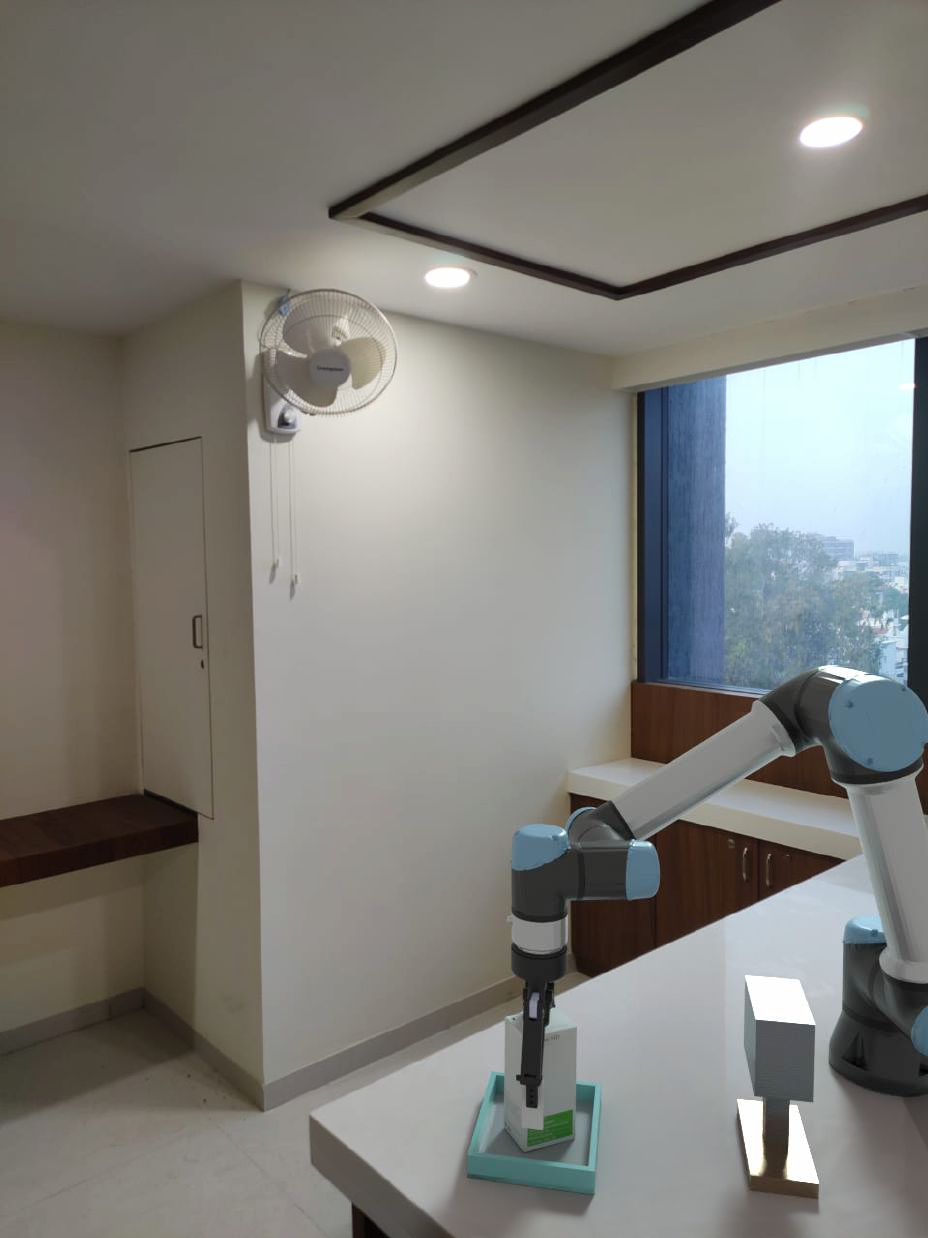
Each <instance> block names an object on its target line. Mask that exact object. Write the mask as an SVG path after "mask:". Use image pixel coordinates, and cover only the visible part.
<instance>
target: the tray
mask: <svg viewBox="0 0 928 1238" xmlns="http://www.w3.org/2000/svg"><path fill="white" fill-rule="evenodd" d="M601 1111H602V1083H601V1082H600V1083H599V1082H592V1081H583V1080H576V1124H575V1139H572V1140H568V1141H564V1142H560V1143H557V1144H553V1145H549V1146H546V1147H542V1148H538V1149H534V1150H531V1151H528V1152H523V1150H522V1149H521V1148H520V1147H519V1145H518V1144H517V1143H516V1142H515V1140H514V1139H513V1138H512V1136H511V1135H510V1134H509V1133H508V1131H507V1130H506V1129H505V1127H504V1072H499V1071H491V1072H490V1076H489V1079H488V1083H487V1086H486V1089H485V1093H484V1097H483V1100H482V1103H481V1107H480V1111H479V1114H478V1116H477V1117H478V1118H477V1120H476V1123H475V1127H474V1131H473V1135H472V1138H471V1141H470V1144H469V1148H468V1151H467V1154H466V1174H467V1175H466V1176H467V1177H466V1178H467V1179H473V1180H474V1179H475V1180H481V1181H489V1182H498V1183H505V1184H512V1185H520V1186H526V1187H533V1188H540V1189H541V1188H542V1189H550V1190H555V1191H556V1190H557V1191H564V1192H571V1193H580V1194H586V1195H587V1194H588V1195H595V1190H596V1176H597V1166H598V1165H597V1164H598V1151H599V1150H598V1149H599V1138H600V1137H599V1136H600V1125H601V1114H602V1112H601Z"/></svg>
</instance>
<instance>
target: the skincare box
mask: <svg viewBox="0 0 928 1238" xmlns="http://www.w3.org/2000/svg"><path fill="white" fill-rule="evenodd" d="M543 1018H544V1017H543ZM503 1020H504V1072H503V1073H504V1127H505V1129H506V1130H507V1131H508V1133H509V1134H510V1135H511V1136H512V1138H513V1139H514V1140H515V1142H516V1143H517V1144H518V1145H519V1147H520V1148H521V1149H522V1150H523V1152H528V1151H531V1150H534V1149H538V1148H542V1147H546V1146H549V1145H553V1144H557V1143H560V1142H564V1141H568V1140H572V1139H575V1124H576V1081H577V1052H578V1051H577V1050H578V1049H577V1041H578V1036H577V1035H578V1026H577V1025H576V1024H575V1023H574V1022H573V1021H571V1020H570V1019H569V1018H567V1017H566V1015H564V1014H563V1013H562V1012H561V1011H560V1010H559V1009H558V1008H557V1007H555V1008H551V1009H550V1022H549V1025H548V1026H546V1027H545V1039H544V1054H543V1069H542V1076H543V1078H544V1127H543V1130H537V1129H529V1128H522V1085H521V1084H520V1081H516V1075H521V1056H522V1038H523V1013H519V1014H517V1013H516V1014H512V1015H507V1016H505V1017H504V1019H503Z"/></svg>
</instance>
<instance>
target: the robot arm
mask: <svg viewBox="0 0 928 1238" xmlns="http://www.w3.org/2000/svg"><path fill="white" fill-rule="evenodd" d="M927 743H928V711H927V709H926V706H925V704H924V703H923V702H922V700H921V699H920V698H919V696H918V695H917V694H916V692H914V691H913V690H912V689H911V688H909V687H908V686H906V685H905V684H903V683H901V682H899V681H896V680H895V679H893V678H891V677H889V676H886V675H882V674H879V673H872V672H864V671H861V670H857V669H852V668H850V667H846V666H842V665H834V664H832V665H822V666H817V667H813V668H812V669H811V668H810V669H809V670H806V671H803V672H802V673H799V674H798V675H796V676H794V677H792V678H790V679H788V680H786V681H785V682H783V683H782V684H780V685H778V686H777V687H775V688H774V689H772V690H770V691H769V692H767V693H765V694H763V695H762V696H760V698H758V699H756V700H755V701H753V702H752V705H751V710H750V712H748V713H747V714H745V715H743V716H742V717H741V718H739V719H737V720H736V721H734V722H732V723H730V724H729V725H728V726H726V727H724V728H723V729H721V730H719V731H718V732H716V733H715V734H713V735H712V736H709V738H707V739H705V740H704V741H702V742H700V743H699V744H698V745H696V746H694V747H692V748H691V749H689V750H688V751H686V752H685V753H683V754H681V755H680V756H679V757H676V758H675V759H673V760H672V761H671V762H669V763H667V764H665V765H664V766H662V767H660V768H659V769H658V770H656V771H654V772H653V773H651V774H650V775H648V776H646V777H644V778H643V779H642V780H640V781H639V782H637V783H635V784H634V785H632V786H630V787H629V788H627V789H626V790H624V791H622V792H621V793H620V794H619V793H618V794H617V795H616V796H615V797H613V798H611V799H610V800H608V801H606V802H605V803H603V804H601V805H599V806H598V807H591V806H587V807H586V806H585V807H582V808H579V809H576V810H575V811H574V812H573V813H572V814H571V815H569V817H568V818H567V821H566V823H565V826H564V828H562V827H561V826H557V825H554V824H546V823H534V824H533V823H531V824H528V825H524V826H521V827H520V828H517V829H516V831H515V832H514V833H513V835H512V841H511V842H512V843H511V859H510V889H511V890H510V896H511V898H510V899H511V901H510V902H511V903H510V904H511V906H510V907H511V915H508V916H507V918H506V922H507V923H508V924H512V926H511V940H512V942H511V946H510V964H511V965H510V969H511V971H512V973H513V974H514V975H515V977H516V978H517V977H518V979H522V980H523V981H525V984H524V987H523V988H522V1007H523V1010H522V1014H523V1038H522V1056H521V1075H516V1081H520V1084H521V1085H522V1128H529V1129H537V1130H543V1127H544V1078H543V1076H542V1069H543V1054H544V1039H545V1027H546V1026H548V1025H549V1022H550V1009H551V1008H557V1007H556V1003H555V1002H556V1001H555V989H556V982H555V981H559V980H561V979H562V978H563V977H565V975H566V974H567V971H568V945H567V943H568V942H569V941H568V940H569V938H568V937H569V912H568V909H569V908H568V904H569V902H570V901H597V900H601V901H602V900H604V901H605V900H606V901H607V900H617V901H618V900H628V901H632V900H639V899H649V898H652V897H654V896H655V895H656V894H657V892H658V891H659V887H660V882H661V881H660V880H661V870H660V868H661V867H660V860H659V855H658V851H657V850H656V847H655V846H654V844H653V843H652V842H651V841H648V840H647V839H648V838H650V837H652V836H653V835H655V834H656V833H658V832H660V831H661V830H663V829H665V828H666V827H668V826H669V825H671V824H673V823H674V822H676V821H677V820H679V819H681V818H682V817H685V815H687V814H689V813H690V812H692V811H693V810H695V809H697V808H698V807H700V806H702V805H704V804H705V803H707V802H708V801H709V800H711V799H713V798H714V797H717V796H718V795H719V794H721V793H723V791H724V792H725V791H726V790H727V789H729V788H730V787H732V786H734V785H736V784H737V783H739V782H740V781H742V780H744V779H745V778H747V777H748V776H750V775H752V774H753V773H754V772H756V771H758V770H760V769H761V768H763V767H764V766H766V765H767V764H769V763H771V762H773V761H774V760H776V759H778V758H779V757H780V756H785V757H789V758H792V757H795V756H796V755H797V754H799V753H801V752H802V751H804V750H806V749H810V748H812V747H817V746H822V747H823V751H824V755H825V759H826V763H827V767H828V771H829V774H830V778H831V780H832V781H833V782H834V783H835V784H837V785H839V786H841V787H843V788H845V789H846V792H847V797H848V800H849V804H850V808H851V812H852V814H853V815H852V816H853V819H854V820H853V821H854V823H855V827H856V831H857V835H858V839H859V843H860V847H861V850H862V854H863V858H864V863H865V865H866V869H867V873H868V878H869V881H870V885H871V888H872V889H871V890H872V893H873V895H874V896H873V897H874V900H875V904H876V908H877V911H878V915H874V914H873V915H860V916H857V917H853V918H851V919H849V920H848V921H846V924H845V926H844V932H843V939H842V945H843V947H842V948H843V949H842V951H843V953H842V954H843V955H842V992H841V993H842V994H841V996H842V997H841V998H842V1002H841V1003H842V1004H841V1012H840V1015H839V1016H838V1019H837V1021H836V1024H835V1026H834V1029H833V1031H832V1034H831V1037H830V1038H829V1043H828V1060H829V1063H830V1065H831V1066H832V1067H833V1070H835V1071H836V1072H837V1073H838V1074H839V1075H840V1076H842V1077H843V1078H845V1079H846V1080H848V1081H849V1082H851V1083H853V1084H855V1085H858V1086H859V1087H861V1088H865V1089H867V1090H870V1091H874V1092H876V1093H877V1092H878V1093H881V1094H885V1095H892V1096H917V1095H923V1094H925V1093H927V1092H928V829H927V828H928V827H927V824H926V820H925V815H924V811H923V808H922V803H921V801H920V795H919V791H918V789H917V788H918V787H917V785H916V780H915V779H916V777H917V775H919V774H920V772H921V771H922V770H923V768H924V759H923V756H922V755H923V753H924V752H925V748H924V747H925V745H926V744H927ZM543 1017H544V1018H543Z"/></svg>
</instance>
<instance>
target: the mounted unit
mask: <svg viewBox="0 0 928 1238" xmlns="http://www.w3.org/2000/svg"><path fill="white" fill-rule="evenodd" d="M743 1014H744V1016H743V1021H744V1022H743V1048H744V1053H745V1057H746V1062H747V1066H748V1071H749V1076H750V1081H751V1086H752V1090H753V1091H752V1092H753V1096H754V1097H758V1098H762V1099H761V1100H762V1101H758V1100H747V1099H739V1098H738V1099H737V1102H736V1103H737V1105H736V1106H737V1107H736V1114H737V1120H738V1125H739V1132H740V1137H741V1143H742V1148H743V1155H744V1159H745V1167H746V1172H747V1173H746V1174H747V1177H748V1183H749V1189H750V1191H754V1192H761V1193H769V1194H775V1195H784V1196H792V1197H793V1196H794V1197H798V1198H799V1197H800V1198H808V1199H813V1200H814V1199H816V1200H819V1198H820V1197H819V1195H820V1191H819V1190H820V1189H819V1188H820V1184H819V1179H818V1176H817V1171H816V1168H815V1164H814V1161H813V1158H812V1154H811V1151H810V1147H809V1144H808V1141H807V1137H806V1133H805V1130H804V1125H803V1122H802V1120H801V1115H800V1113H799V1109H798V1106H797V1105H794V1104H791V1101H795V1102H805V1103H812V1104H813V1103H814V1093H815V1090H814V1089H815V1088H814V1087H815V1055H816V1054H815V1051H816V1050H815V1048H816V1047H815V1046H816V1023H815V1020H814V1018H813V1014H812V1012H811V1010H810V1007H809V1003H808V1001H807V999H806V997H805V993H804V990H803V988H802V985H801V982H800V979H791V978H781V977H780V978H779V977H767V976H756V975H744V1013H743Z"/></svg>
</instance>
